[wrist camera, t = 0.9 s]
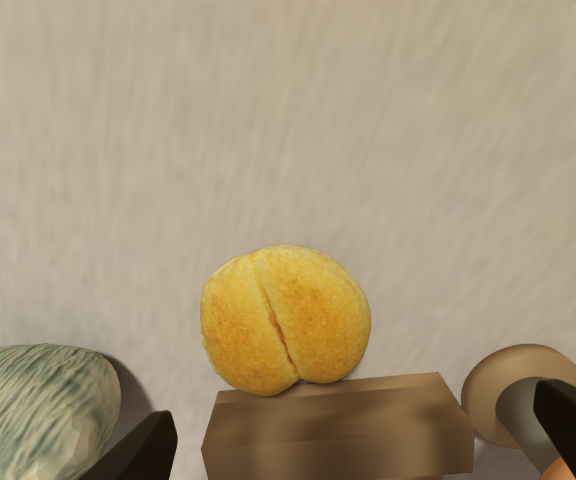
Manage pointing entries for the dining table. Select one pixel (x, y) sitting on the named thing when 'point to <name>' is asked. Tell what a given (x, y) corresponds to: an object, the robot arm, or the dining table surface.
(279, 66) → the dining table surface
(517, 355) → the orange capped knob
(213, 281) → the bread roll
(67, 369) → the spool
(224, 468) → the notch board
